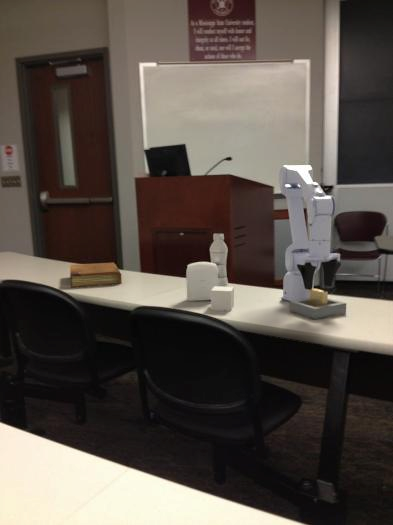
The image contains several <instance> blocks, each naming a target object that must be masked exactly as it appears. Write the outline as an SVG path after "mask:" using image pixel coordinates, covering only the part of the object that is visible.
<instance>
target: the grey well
mask: <svg viewBox="0 0 393 525" xmlns="http://www.w3.org/2000/svg"><path fill="white" fill-rule="evenodd" d="M289 312H290V313H293V314H296V315H299V316H302V317H305V318H308V319H311V320H314V321H315V320H321V319H325V318H326V319H327V318H331V317H335V316H342V315H345V314H347V302H344V301H339V300H336V299H332V298H328V299H327V305H324V306H319V307H313V306H310V305H309V298H307V299H301V300H296V301H289Z"/></svg>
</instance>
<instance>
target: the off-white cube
mask: <svg viewBox="0 0 393 525" xmlns="http://www.w3.org/2000/svg"><path fill="white" fill-rule="evenodd" d="M234 299H235V287H234V286H227V287H221V286H214V287H213V289H212V290H211V300H210V310H211V311H224V310H226V311H228V312H232V310H233V308H234V305H235V300H234Z"/></svg>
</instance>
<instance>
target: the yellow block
mask: <svg viewBox="0 0 393 525" xmlns="http://www.w3.org/2000/svg"><path fill="white" fill-rule="evenodd" d="M328 294H329V292H328V291H327V290H323V289H319V288H314V289H312V290H310V295H309V305H310V306H313V307H319V306H324V305H327V299H328V297H329V295H328Z"/></svg>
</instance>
